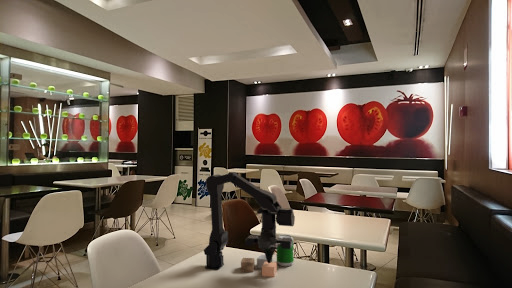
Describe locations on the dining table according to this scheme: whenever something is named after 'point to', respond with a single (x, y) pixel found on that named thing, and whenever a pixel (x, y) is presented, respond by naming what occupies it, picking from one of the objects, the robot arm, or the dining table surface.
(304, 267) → the dining table surface
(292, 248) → the soda can
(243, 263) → the walnut block
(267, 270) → the terracotta block
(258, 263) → the slate block
